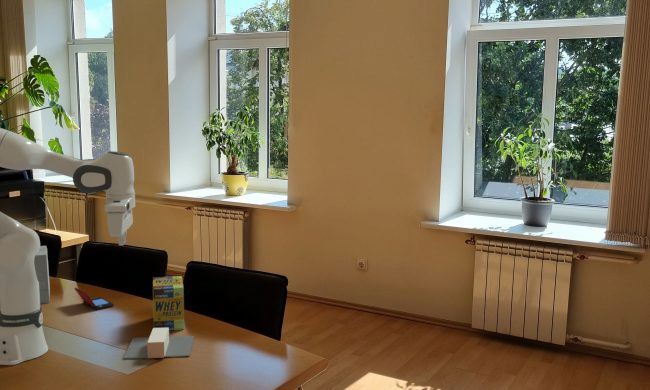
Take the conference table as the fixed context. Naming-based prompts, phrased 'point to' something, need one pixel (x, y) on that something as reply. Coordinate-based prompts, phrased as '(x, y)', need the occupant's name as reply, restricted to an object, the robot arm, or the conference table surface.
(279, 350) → the conference table surface
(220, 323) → the conference table surface
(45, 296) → the hard drive box
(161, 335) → the tall block
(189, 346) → the mat
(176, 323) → the protein box
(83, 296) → the handheld game console
